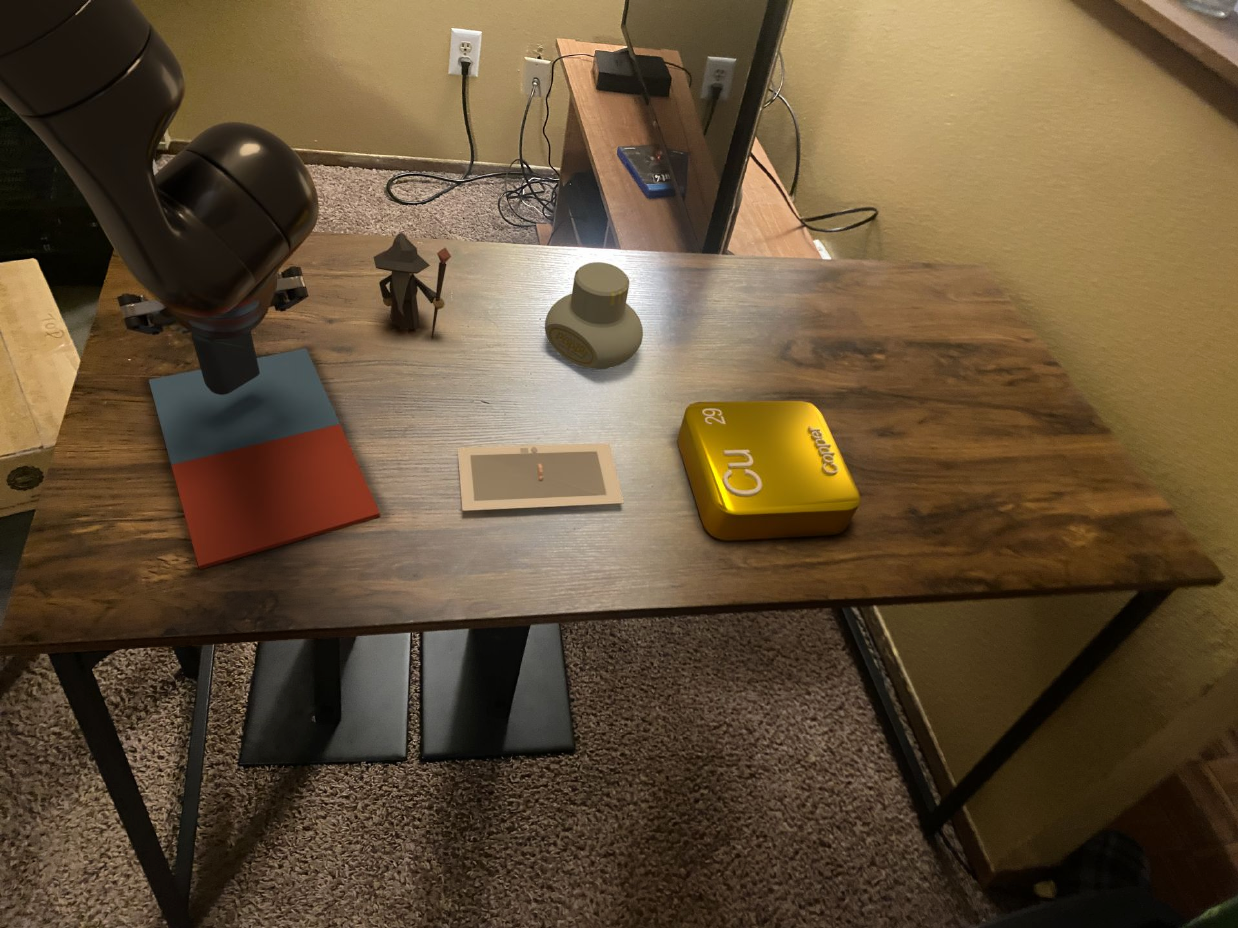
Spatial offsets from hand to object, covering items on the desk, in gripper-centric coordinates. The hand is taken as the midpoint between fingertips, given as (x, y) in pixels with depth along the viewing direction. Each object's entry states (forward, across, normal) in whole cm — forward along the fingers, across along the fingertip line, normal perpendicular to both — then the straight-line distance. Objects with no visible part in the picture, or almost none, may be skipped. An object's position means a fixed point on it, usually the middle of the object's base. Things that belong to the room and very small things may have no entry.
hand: (216, 315), depth 74 cm
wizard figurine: (+11, -20, +4) cm, 23 cm away
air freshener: (+4, -37, +11) cm, 39 cm away
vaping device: (+3, 0, +6) cm, 7 cm away
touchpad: (-7, -23, +22) cm, 33 cm away
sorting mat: (+2, 0, +12) cm, 12 cm away
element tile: (-13, -44, +28) cm, 53 cm away
